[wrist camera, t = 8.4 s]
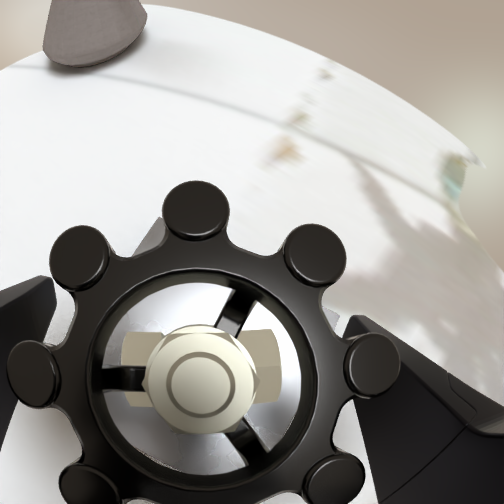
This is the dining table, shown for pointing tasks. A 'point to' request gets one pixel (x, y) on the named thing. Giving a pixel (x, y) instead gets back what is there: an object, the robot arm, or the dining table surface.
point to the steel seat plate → (178, 315)
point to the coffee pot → (91, 30)
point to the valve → (203, 361)
